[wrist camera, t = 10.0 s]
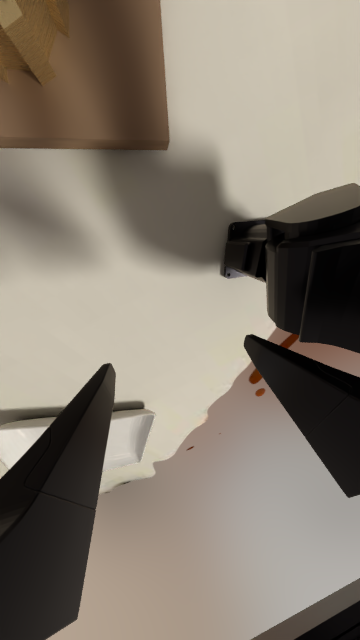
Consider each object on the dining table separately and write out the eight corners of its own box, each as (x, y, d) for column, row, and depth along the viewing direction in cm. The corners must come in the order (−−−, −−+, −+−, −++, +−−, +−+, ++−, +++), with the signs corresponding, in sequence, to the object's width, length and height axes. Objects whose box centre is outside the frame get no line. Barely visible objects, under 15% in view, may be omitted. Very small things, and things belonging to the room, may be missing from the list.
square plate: (33, 467, 36) (23, 490, 33) (-3, 407, 24) (-26, 435, 21) (141, 449, 45) (141, 466, 42) (156, 397, 32) (157, 416, 29)
